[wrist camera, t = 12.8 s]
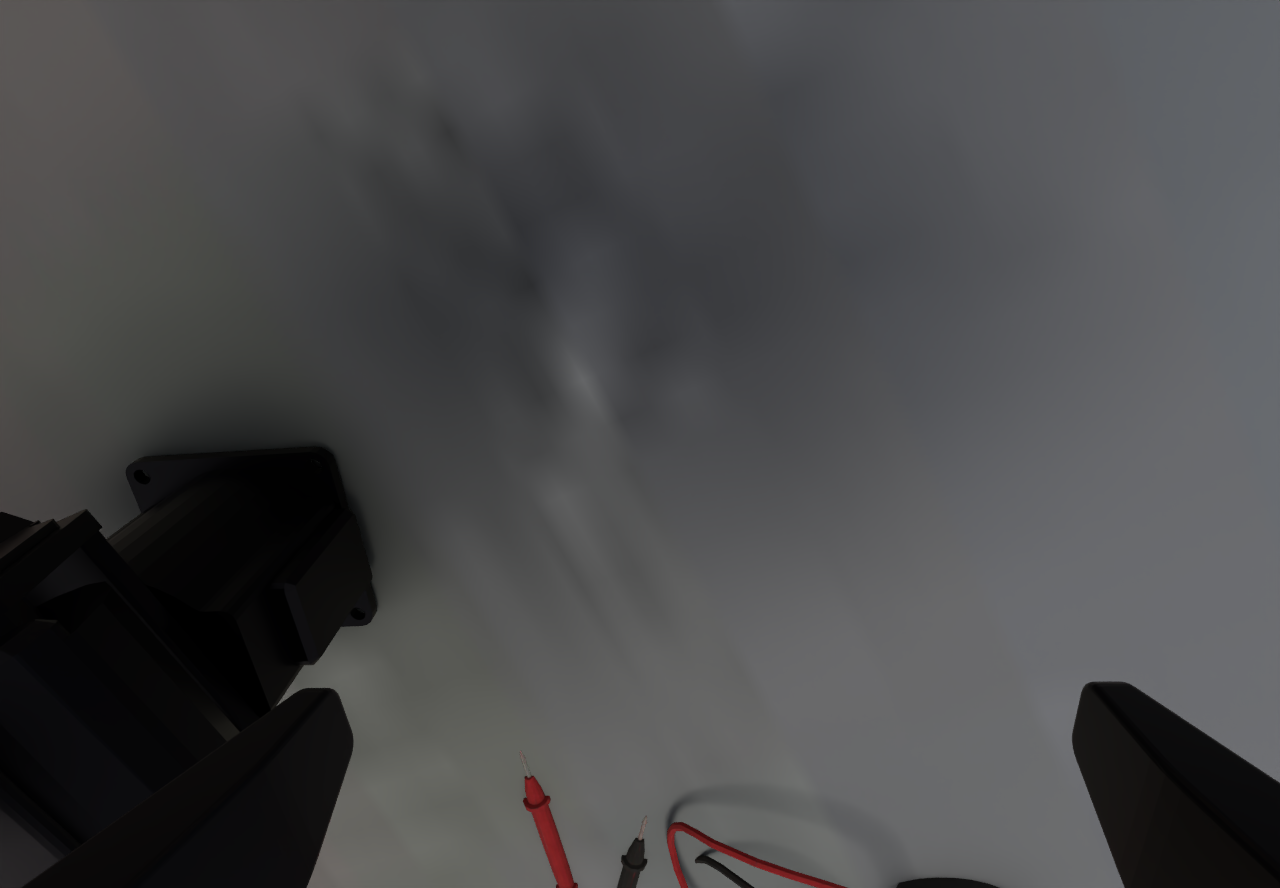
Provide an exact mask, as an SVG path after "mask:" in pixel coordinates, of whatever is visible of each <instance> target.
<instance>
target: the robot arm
mask: <svg viewBox="0 0 1280 888" xmlns="http://www.w3.org/2000/svg"><path fill="white" fill-rule="evenodd" d="M311 459H313V460H316V461H318V462H319V463H320V464H321V466H322V469H320V468H317V467H315V466H314V465H313V464H312V462H311ZM143 470H144V471H145V472H147V473H148V474H149V476H150V478H149V477H147V476H146V475H145V474H144V473H143ZM126 476H127V480H128V482H129V484H130V487H131V489H132V491H133V494H134V496H135V498H136V501H137V503H138V505H139V508H140V510H141V512H142V513H141V514H140V515H138V516H137V517H136V518H134V519H133V520H131V521H130V522H129V523H127V524H126V525H125V526H123V527H122V528H121V529H119V530H118V531H117V532H115V533H114V534H113V535H111V536H110V537H109V538H107V539H105V537H104V536H103V535H102V534H101V533H100V532H99V530H100V529H101V528H102V526H101V525H100V524H99V523H98V522H97V520H96V519H95V518H94V517H93V516H92V515H91V513H90V512H89V511H88V510H87V509H85V510H82V511H80V512H78V513H76V514H73V515H71V516H69V517H67V518H64V519H62V520H60V521H58V522H56V521H55V520H54V519H51V520H48V521H45V522H43V523H41V522H40V521H39V520H38V521H36V522H32V521H29V520H26V519H23V518H20V517H16V516H13V515H10V514H7V513H4V512H0V888H307V885H308V883H309V880H310V878H311V875H312V873H313V870H314V867H315V864H316V861H317V859H318V856H319V853H320V850H321V847H322V844H323V841H324V838H325V835H326V832H327V829H328V825H329V822H330V819H331V816H332V813H333V810H334V807H335V804H336V801H337V798H338V795H339V792H340V789H341V786H342V783H343V780H344V777H345V774H346V770H347V767H348V764H349V761H350V758H351V755H352V751H353V733H352V730H351V727H350V725H349V722H348V719H347V716H346V713H345V711H344V708H343V705H342V702H341V700H340V697H339V695H338V693H337V692H336V691H335V690H334V689H330V688H306V689H302V690H299V691H298V692H296V693H295V694H293V695H292V696H290V697H289V698H288V699H286V700H285V701H283V702H282V703H280V704H279V705H278V706H277V704H278V703H279V701H280V700H281V698H282V697H283V695H284V694H285V692H286V691H287V689H288V688H289V686H290V685H291V683H292V682H293V680H294V679H295V677H296V676H297V674H298V673H299V671H300V670H301V669H302V667H303V666H304V665H314V664H315V663H316V662H317V661H318V660H319V658H320V657H321V656H322V655H323V653H324V651H325V650H326V648H327V647H328V645H329V644H330V642H331V641H332V639H333V638H334V636H335V635H336V633H337V632H338V630H339V629H340V627H346V626H363V625H367V624H368V623H370V622H371V620H372V619H373V617H374V615H375V614H376V612H377V605H376V601H375V598H374V594H373V591H372V587H371V584H370V581H371V580H372V573H371V569H370V566H369V562H368V559H367V555H366V552H365V548H364V545H363V541H362V538H361V534H360V531H359V527H358V524H357V520H356V517H355V514H354V513H353V512H352V511H351V510H350V509H349V507H348V503H347V500H346V496H345V493H344V490H343V486H342V483H341V479H340V476H339V472H338V469H337V465H336V462H335V459H334V457H333V455H332V454H331V453H330V452H329V451H328V450H326V449H324V448H322V447H299V448H283V449H266V450H250V451H233V452H217V453H200V454H184V455H167V456H151V457H143V458H139V459H138V460H136V461H134V462H133V463H131V464H130V465H129V466H128V467H127V469H126ZM356 608H360V609H362V610H364V612H365V613H364V612H360V611H358V610H357V609H356ZM1072 744H1073V750H1074V754H1075V757H1076V760H1077V763H1078V765H1079V768H1080V771H1081V773H1082V776H1083V779H1084V781H1085V784H1086V787H1087V789H1088V792H1089V795H1090V797H1091V800H1092V803H1093V805H1094V808H1095V811H1096V813H1097V816H1098V819H1099V821H1100V824H1101V827H1102V829H1103V832H1104V835H1105V837H1106V840H1107V843H1108V845H1109V848H1110V851H1111V853H1112V856H1113V859H1114V861H1115V864H1116V867H1117V869H1118V872H1119V875H1120V877H1121V880H1122V882H1123V884H1124V887H1125V888H1280V783H1279V782H1278V781H1276V780H1275V779H1273V778H1272V777H1270V776H1269V775H1267V774H1266V773H1264V772H1263V771H1261V770H1260V769H1258V768H1257V767H1255V766H1254V765H1252V764H1250V763H1249V762H1247V761H1246V760H1244V759H1243V758H1241V757H1240V756H1238V755H1237V754H1235V753H1234V752H1232V751H1231V750H1229V749H1228V748H1226V747H1225V746H1223V745H1222V744H1220V743H1219V742H1217V741H1216V740H1214V739H1213V738H1211V737H1210V736H1208V735H1207V734H1205V733H1204V732H1202V731H1201V730H1199V729H1198V728H1196V727H1195V726H1193V725H1192V724H1190V723H1189V722H1187V721H1186V720H1184V719H1183V718H1181V717H1180V716H1178V715H1177V714H1175V713H1174V712H1172V711H1170V710H1169V709H1167V708H1166V707H1164V706H1163V705H1161V704H1160V703H1158V702H1157V701H1155V700H1154V699H1152V698H1151V697H1149V696H1148V695H1146V694H1145V693H1143V692H1142V691H1140V690H1139V689H1137V688H1136V687H1134V686H1132V685H1131V684H1128V683H1126V682H1090V683H1087V684H1086V685H1085V686H1084V687H1083V690H1082V692H1081V697H1080V701H1079V705H1078V710H1077V714H1076V719H1075V723H1074V728H1073V733H1072Z"/></svg>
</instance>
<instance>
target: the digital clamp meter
mask: <svg viewBox="0 0 1280 888" xmlns="http://www.w3.org/2000/svg"><path fill="white" fill-rule="evenodd" d="M520 759H521V760H522V763H523V766H524V769H525V771H526V774H527V776H525V792H526V796H527V798H524V800H523V803H524V805H525V807H526V809H527V810H528V811H530V812H532V815H533V818H534V821H535V824H536V827H537V830H538V832H539V835H540V838H541V841H542V844H543V846H544V849H545V852H546V855H547V857H548V860H549V863H550V866H551V868H552V871H553V873H554V876H555V878H556V881H557V883H558V885H556V888H578V884H577V883H574V881H573V878H572V874H571V871H570V867H569V864H568V861H567V858H566V855H565V852H564V849H563V846H562V843H561V840H560V837H559V834H558V831H557V828H556V825H555V823H554V820H553V817H552V814H551V811H550V808H549V806H548V804H549V803H550V796H545V795H544V792H543V790H542V788H541V786H540V785H539V783H538V782H537V780H536V779H535V777H534V776H531V774H530V771H529V768H528V765H527V762H526V761H525V756H524V755H523V753H522V752H521V751H520ZM646 823H647V816H645V818H644V819H643V821H642V826H641V829H640V833H639V837H638V838H635V840H634V842H633V843H632V845H631V846H630V848H629V850H628V853H627V855H622V858H621V862H622V864H623V869H622V873H621V876H620V880H619V883H618V887H617V888H636V885H637V881H638V878H639V874H640V871H643V869H644V868H645V866H646V864H647V859H644V852H645V849H644V839H642V836H643V833H644V829H645V825H646ZM676 831H684V832H685V833H687V834H689V835H691V836H693V837H695V838H696V839H698V840H700V841H701V842H703V843H705V844H706V845H708V846H710V847H711V848H713V849H715V850H718V851H720V852H722V853H725V854H727V855H729V856H731V857H734V858H736V859H738V860H740V861H743V862H745V863H747V864H750V865H752V866H754V867H757V868H760V869H762V870H765V871H768V872H771V873H774V874H777V875H780V876H783V877H785V878H788V879H791V880H795V881H798V882H801V883H804V884H808V885H811V886H814V887H817V888H847V887H844V886H841V885H837V884H834V883H831V882H828V881H825V880H822V879H818V878H815V877H812V876H809V875H805V874H802V873H799V872H795V871H792V870H789V869H786V868H783V867H781V866H778V865H775V864H772V863H769V862H766V861H763V860H760V859H757V858H755V857H753V856H750V855H748V854H746V853H743V852H741V851H739V850H737V849H734V848H732V847H730V846H727V845H725V844H723V843H720V842H718V841H716V840H714V839H712V838H710V837H708V836H707V835H705V834H703V833H702V832H700V831H698V830H697V829H695V828H693V827H691V826H689V825H687V824H685V823H683V822H674V823H673V824H672V825H671V826H670V828H669V829H668V831H667V844H668V848H669V852H670V856H671V860H672V864H673V867H674V871H675V874H676V876H677V879H678V881H679V884H680V886H681V888H688V886H687V883H686V880H685V878H684V875H683V873H682V870H681V868H680V865H679V861H678V857H677V853H676V849H675V845H674V834H675V832H676ZM695 863H705V864H707V865H709V866H711V867H713V868H714V869H716V870H718V871H720V872H721V873H722V874H724V875H725V876H726V877H728V878H729V879H730V880H732V881H733V882H734V883H736V884H737V885H738V886H740V887H741V888H754V887H753V886H751V885H750V884H749V883H747V882H746V881H744V880H743V879H742V878H740V877H739V876H738V875H736V874H735V873H733V872H732V871H731V870H729V869H728V868H727V867H725V866H724V865H722V864H721V863H719V862H717V861H716V860H714V859H712V858H710V857H708V856H699V857H697V858H696V859H695ZM896 888H998V887H996V886H993V885H990V884H987V883H982V882H978V881H973V880H967V879H959V878H925V879H916V880H911V881H906V882H901V883H898V885H897V887H896Z"/></svg>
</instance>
